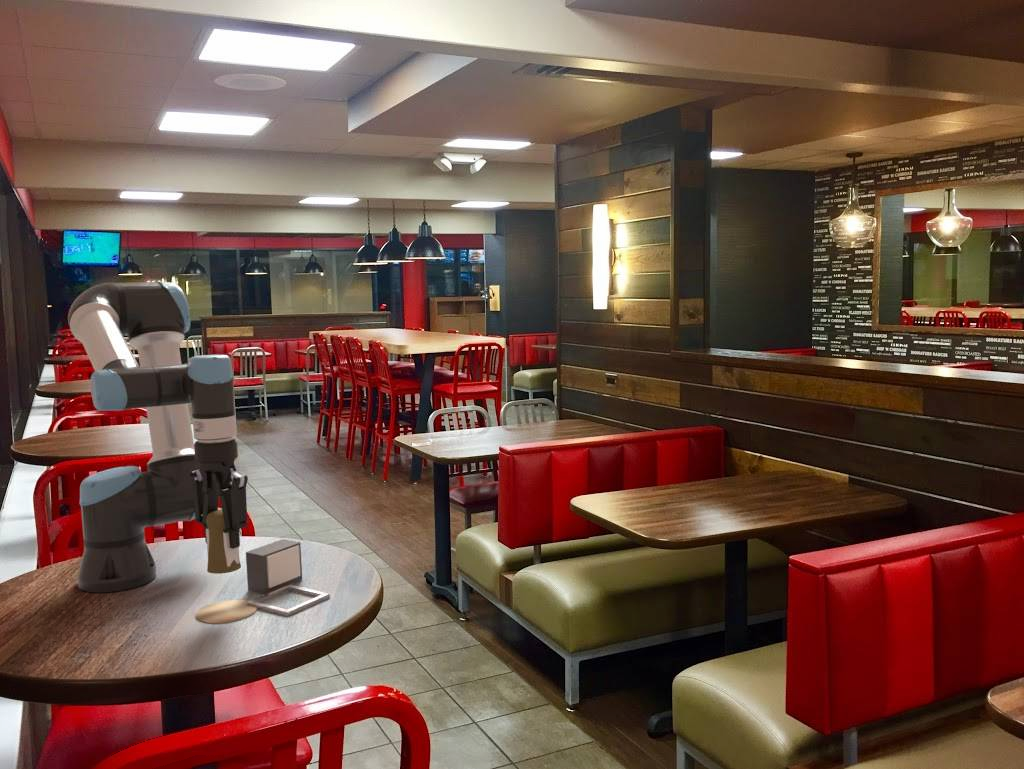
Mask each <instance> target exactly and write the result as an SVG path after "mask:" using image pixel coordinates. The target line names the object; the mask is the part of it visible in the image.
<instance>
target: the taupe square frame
mask: <svg viewBox="0 0 1024 769" xmlns="http://www.w3.org/2000/svg"><path fill="white" fill-rule="evenodd" d="M288 592H292V593H297V594H301V595H306V596H311V597H313V598H311V599H309V600H307V601H304V602H302V603H300V604H297V605H295V606H293V607H291V608H287V609H286V608H283V607H278V606H275V605H271V604H267V603H264V602H266V601H269V600H271V599H273V598H275V597H278V596H280V595H282V594H285V593H288ZM330 596H331V595H330V593H327V592H324V591H319V590H315V589H310V588H306V587H303V586H297V585H293V584H291V585H287V586H285V587H282V588H280V589H277V590H275V591H273V592H270V593H268V594H265V595H264V594H262V595H261V596H258V597H256V598H253V599H251V600H247V601H248V602H247V605H251V606H255V607H257V610H262V611H265V612H268V613H272V614H275V615H281V616H284V617H290V616H293V615H295V614H297V613H299V612H300V611H303V610H306V609H307V608H310V607H313V606H314V605H316V604H319V603H321V602H324V601H325V600H328V599H330V598H331V597H330Z"/></svg>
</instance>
